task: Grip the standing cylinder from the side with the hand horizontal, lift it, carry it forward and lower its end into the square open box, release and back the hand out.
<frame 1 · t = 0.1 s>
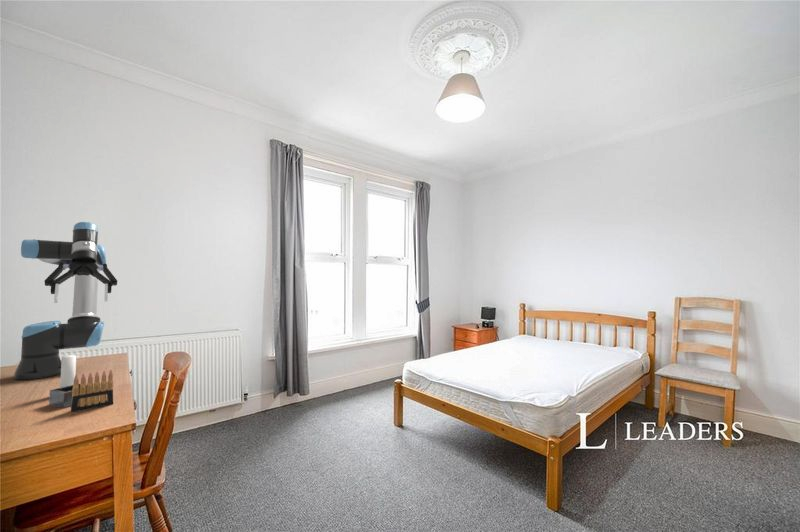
hand: (81, 300, 126), 36 cm above the table, tool tilted 35°, fingers open, 13 cm apart
ammunition clip: (92, 408, 116), on the table
cylinder: (67, 393, 129), on the table
square open box: (70, 402, 120), on the table
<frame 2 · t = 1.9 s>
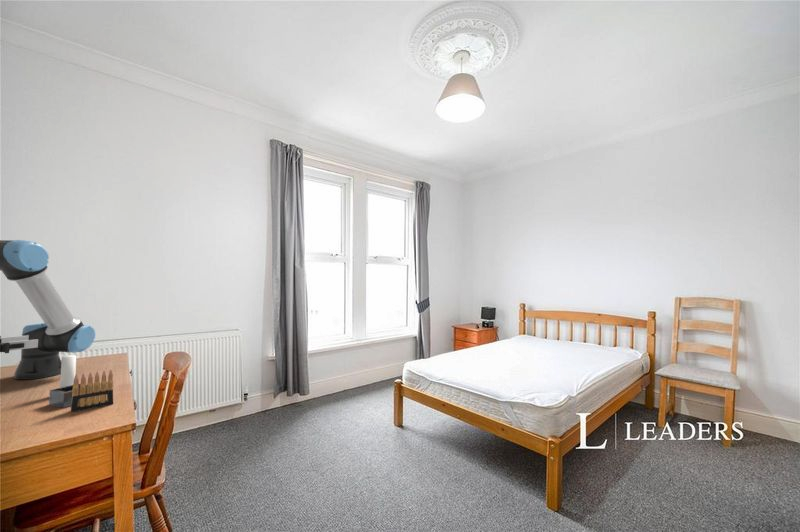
hand: (33, 341, 121), 21 cm above the table, tool horizontal, fingers open, 13 cm apart
nothing on the table moved.
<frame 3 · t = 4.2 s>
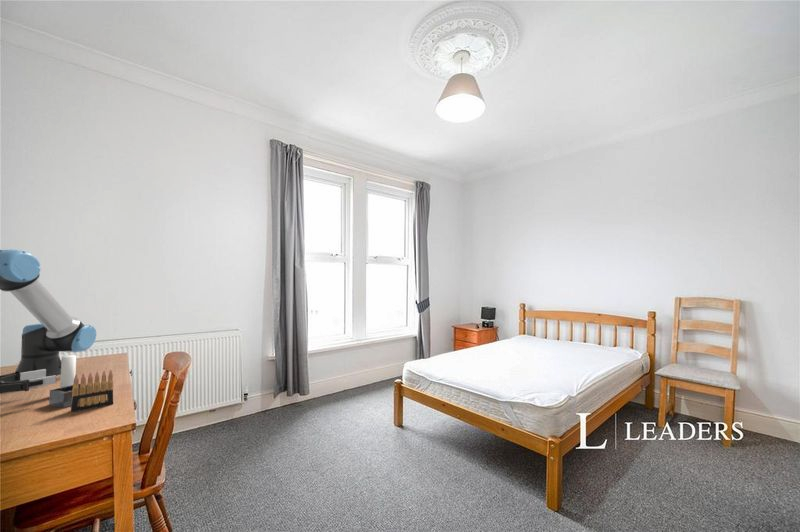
hand: (50, 375, 125), 8 cm above the table, tool horizontal, fingers open, 13 cm apart
nothing on the table moved.
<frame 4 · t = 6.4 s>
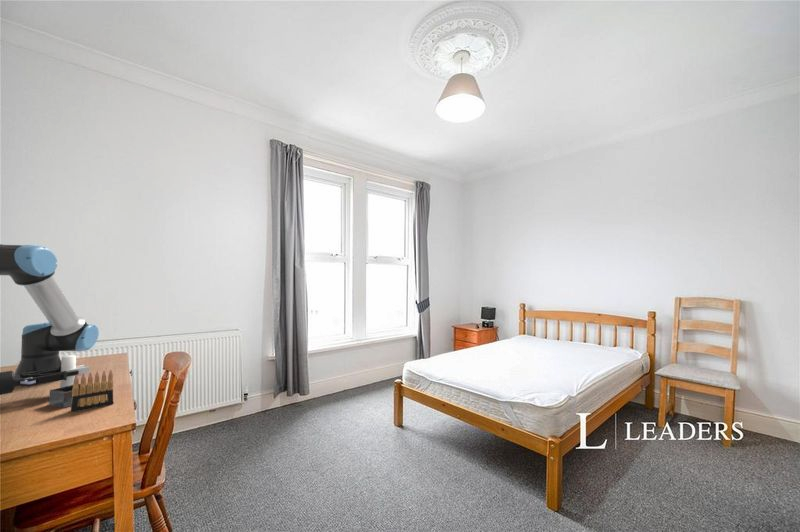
hand: (86, 369, 133), 8 cm above the table, tool horizontal, fingers closed on cylinder, 4 cm apart
cylinder: (67, 393, 129), on the table, touching gripper
everything else where it was.
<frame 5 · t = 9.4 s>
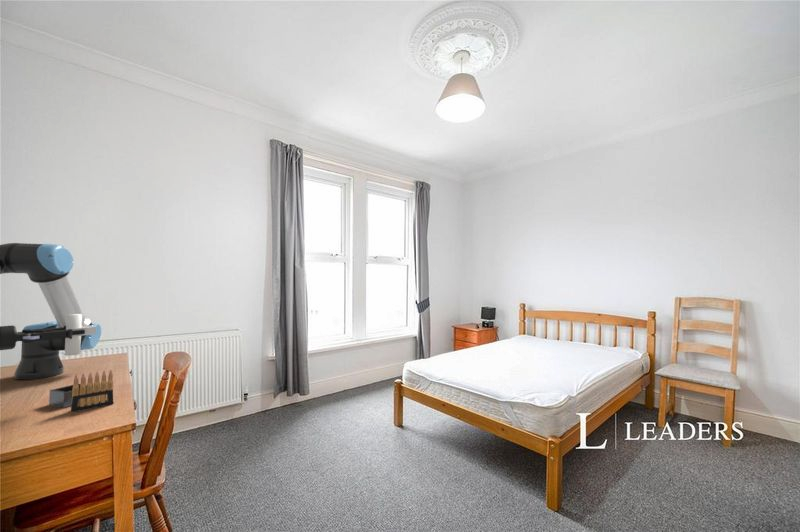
hand: (93, 329, 125), 25 cm above the table, tool horizontal, fingers closed on cylinder, 4 cm apart
cylinder: (72, 354, 120), point 17 cm above the table, touching gripper
everything else where it was.
when the fingers open (10 cm above the table, at t = 12.3 s): cylinder drops 1 cm, resting on square open box.
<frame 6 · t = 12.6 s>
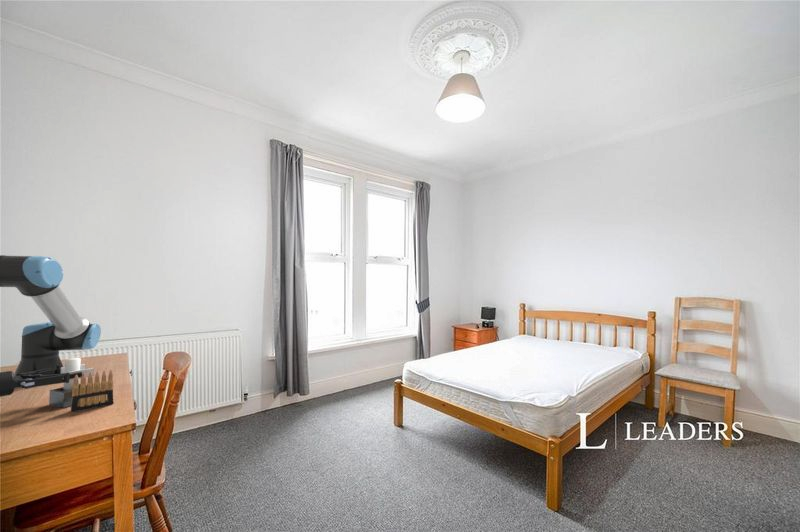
hand: (89, 369, 124), 10 cm above the table, tool horizontal, fingers open, 9 cm apart
cylinder: (70, 399, 120), point 1 cm above the table, touching square open box
everything else where it was.
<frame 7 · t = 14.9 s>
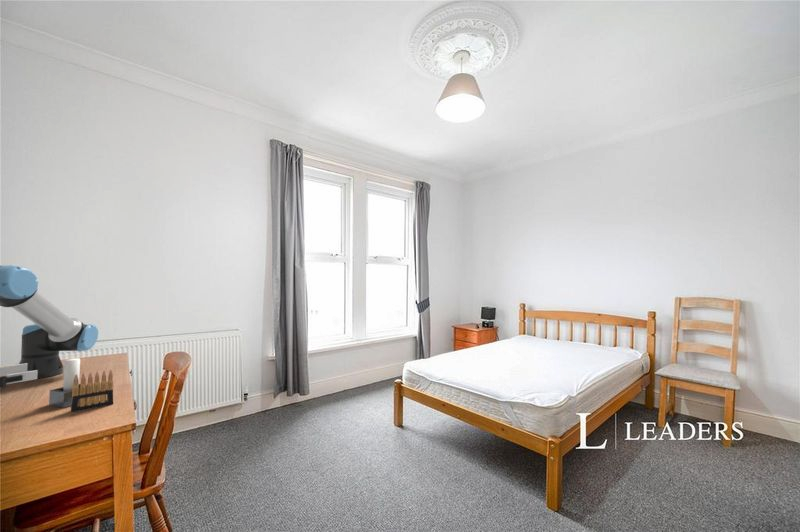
hand: (32, 370, 112), 13 cm above the table, tool horizontal, fingers open, 13 cm apart
nothing on the table moved.
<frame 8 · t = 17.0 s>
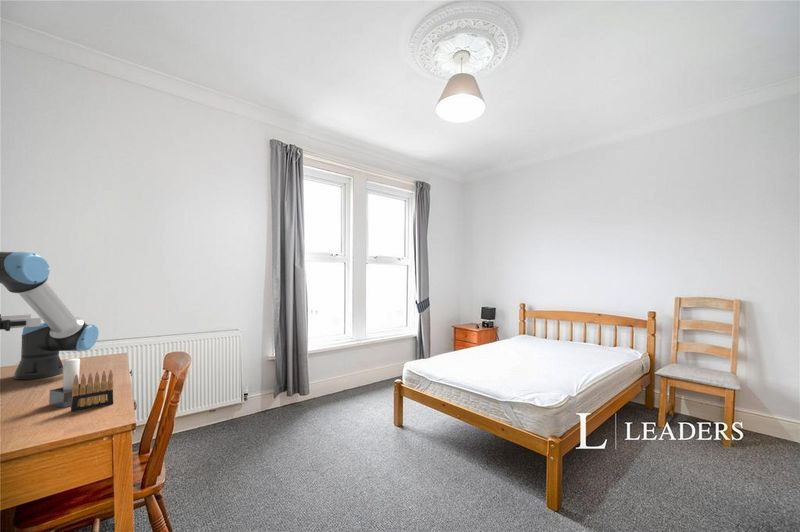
hand: (35, 319, 113), 30 cm above the table, tool horizontal, fingers open, 13 cm apart
nothing on the table moved.
at the end: cylinder 0.1 cm off-centre on the square open box, point 1.0 cm above the square open box's base; cylinder tilted 0°; the gripper is holding nothing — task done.
